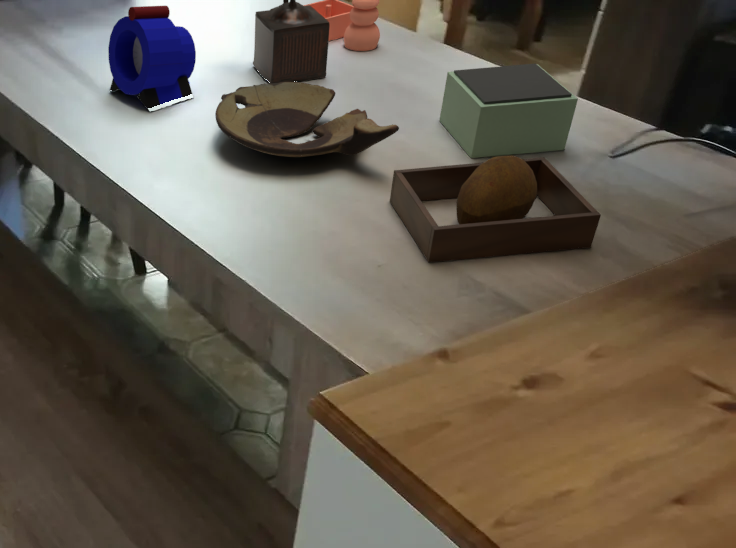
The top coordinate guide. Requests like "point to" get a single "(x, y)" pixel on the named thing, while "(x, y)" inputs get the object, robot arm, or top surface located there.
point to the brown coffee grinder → (291, 43)
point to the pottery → (351, 22)
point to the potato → (497, 191)
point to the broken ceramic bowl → (294, 121)
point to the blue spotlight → (151, 56)
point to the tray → (496, 237)
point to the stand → (507, 110)
